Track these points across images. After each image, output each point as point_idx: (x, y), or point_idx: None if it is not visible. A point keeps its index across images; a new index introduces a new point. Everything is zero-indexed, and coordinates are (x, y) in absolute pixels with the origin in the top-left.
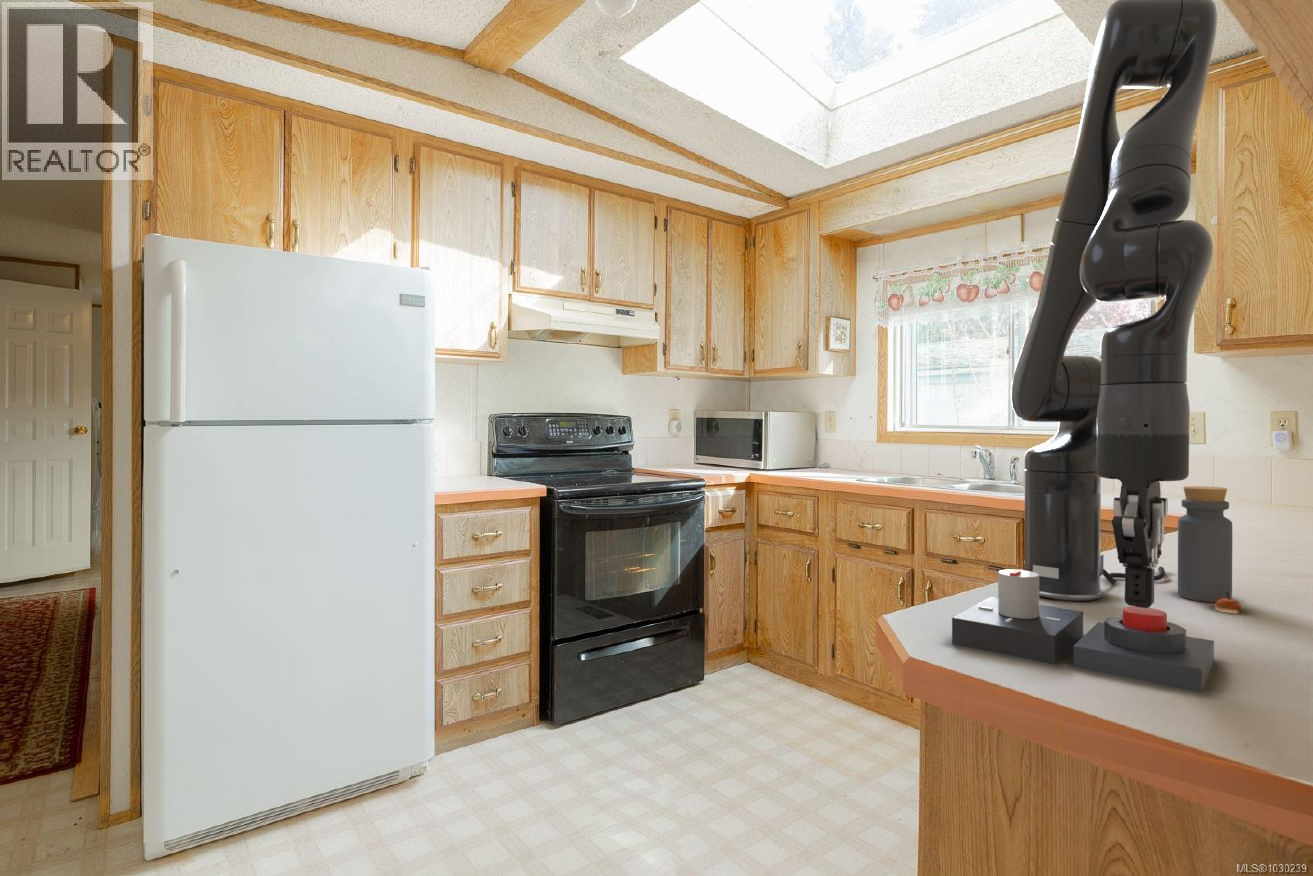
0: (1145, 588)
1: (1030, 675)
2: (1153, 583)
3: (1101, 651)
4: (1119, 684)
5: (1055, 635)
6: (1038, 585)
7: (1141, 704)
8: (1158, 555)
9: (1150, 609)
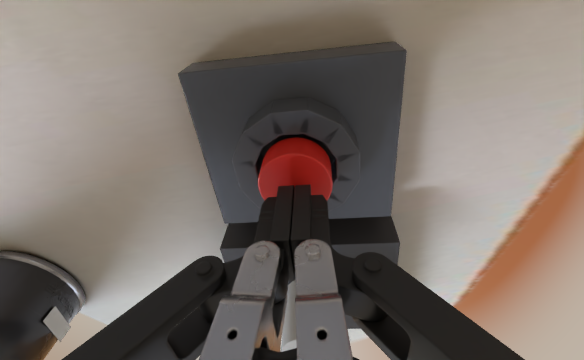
0: (326, 216)
1: (449, 220)
2: (286, 214)
3: (393, 186)
4: (420, 139)
5: (394, 242)
6: None
7: (502, 97)
8: (220, 264)
9: (272, 182)
